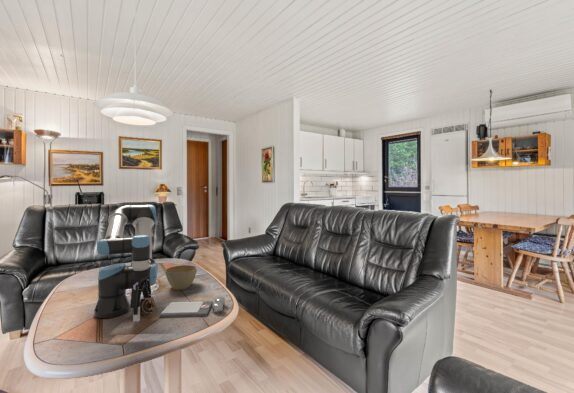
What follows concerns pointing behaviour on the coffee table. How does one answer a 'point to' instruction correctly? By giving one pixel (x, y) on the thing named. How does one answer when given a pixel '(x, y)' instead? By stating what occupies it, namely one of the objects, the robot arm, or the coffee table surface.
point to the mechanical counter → (147, 306)
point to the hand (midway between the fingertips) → (141, 316)
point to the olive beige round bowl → (181, 276)
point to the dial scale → (186, 309)
